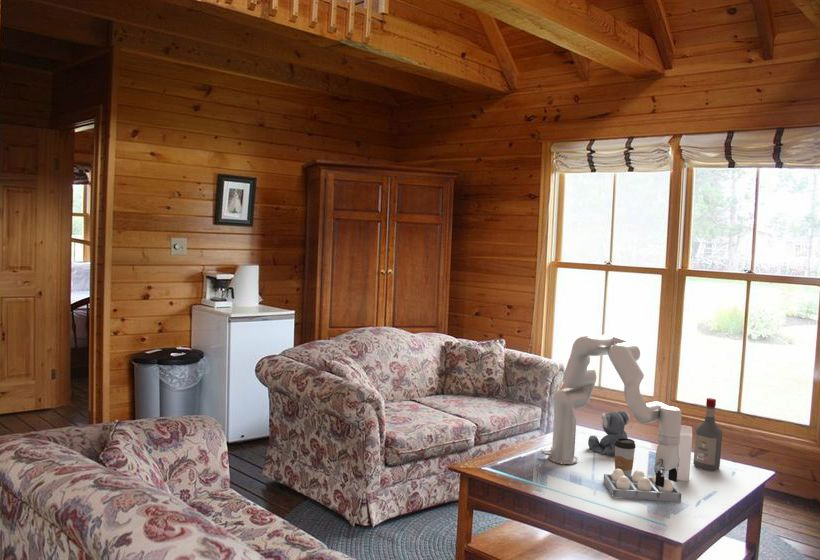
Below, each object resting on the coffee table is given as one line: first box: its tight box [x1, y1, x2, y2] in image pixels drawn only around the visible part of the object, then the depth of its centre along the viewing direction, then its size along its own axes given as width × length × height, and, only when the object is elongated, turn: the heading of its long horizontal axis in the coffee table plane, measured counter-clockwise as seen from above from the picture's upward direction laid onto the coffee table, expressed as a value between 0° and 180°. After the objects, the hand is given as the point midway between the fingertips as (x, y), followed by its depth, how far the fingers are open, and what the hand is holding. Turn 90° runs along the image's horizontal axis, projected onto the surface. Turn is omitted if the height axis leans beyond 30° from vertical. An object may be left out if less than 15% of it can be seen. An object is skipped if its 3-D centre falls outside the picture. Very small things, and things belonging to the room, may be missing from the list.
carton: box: [603, 468, 683, 502], centre depth 269 cm, size 25×17×7 cm
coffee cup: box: [614, 438, 636, 476], centre depth 285 cm, size 8×8×15 cm
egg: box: [659, 477, 674, 492], centre depth 264 cm, size 5×5×6 cm
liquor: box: [693, 397, 723, 472], centre depth 300 cm, size 9×9×30 cm
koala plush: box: [587, 409, 631, 457], centre depth 315 cm, size 17×18×20 cm
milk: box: [677, 424, 693, 482], centre depth 285 cm, size 6×6×22 cm
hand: (666, 483), depth 264 cm, fingers open, 9 cm apart
